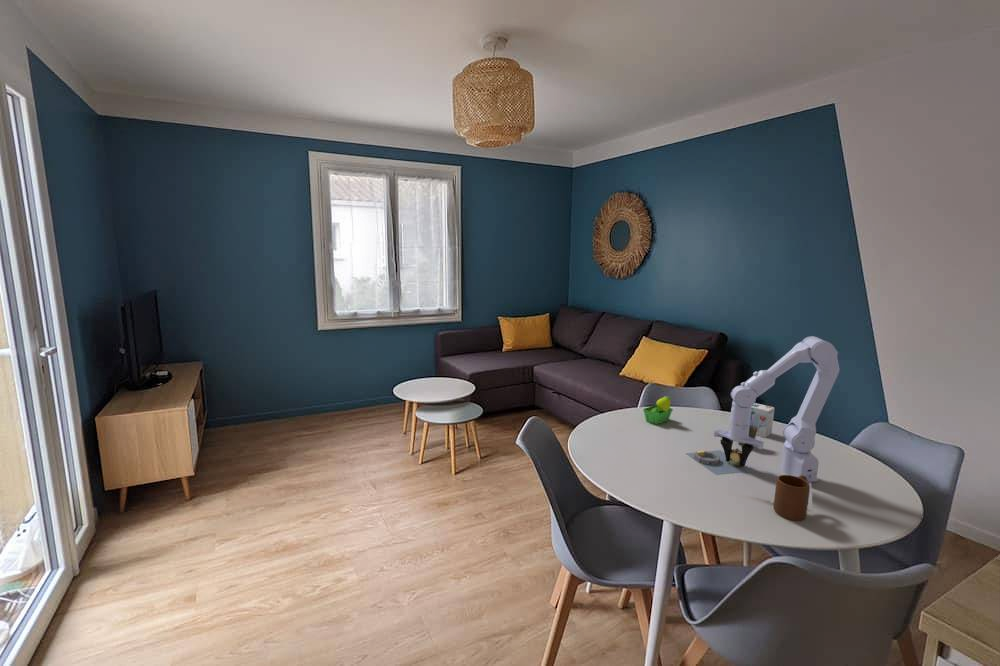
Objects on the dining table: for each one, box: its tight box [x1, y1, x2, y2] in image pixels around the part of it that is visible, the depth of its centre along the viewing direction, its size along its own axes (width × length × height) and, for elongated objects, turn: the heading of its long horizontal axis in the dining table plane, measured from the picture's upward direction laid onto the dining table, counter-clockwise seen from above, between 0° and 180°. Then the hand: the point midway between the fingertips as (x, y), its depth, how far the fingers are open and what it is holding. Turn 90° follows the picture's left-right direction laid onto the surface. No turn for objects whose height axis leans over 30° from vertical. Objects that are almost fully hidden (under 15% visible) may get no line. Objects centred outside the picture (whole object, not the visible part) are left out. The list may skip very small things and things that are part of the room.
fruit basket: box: [642, 396, 674, 425], centre depth 195 cm, size 11×9×11 cm
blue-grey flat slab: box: [685, 450, 755, 476], centre depth 156 cm, size 16×14×2 cm
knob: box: [729, 447, 742, 467], centre depth 154 cm, size 4×4×5 cm
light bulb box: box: [750, 402, 775, 438], centre depth 185 cm, size 11×7×11 cm, turn 42°
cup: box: [737, 425, 758, 447], centre depth 171 cm, size 8×7×8 cm
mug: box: [773, 474, 811, 521], centre depth 128 cm, size 12×8×9 cm, turn 128°
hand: (735, 462), depth 154 cm, fingers closed on knob, 4 cm apart
